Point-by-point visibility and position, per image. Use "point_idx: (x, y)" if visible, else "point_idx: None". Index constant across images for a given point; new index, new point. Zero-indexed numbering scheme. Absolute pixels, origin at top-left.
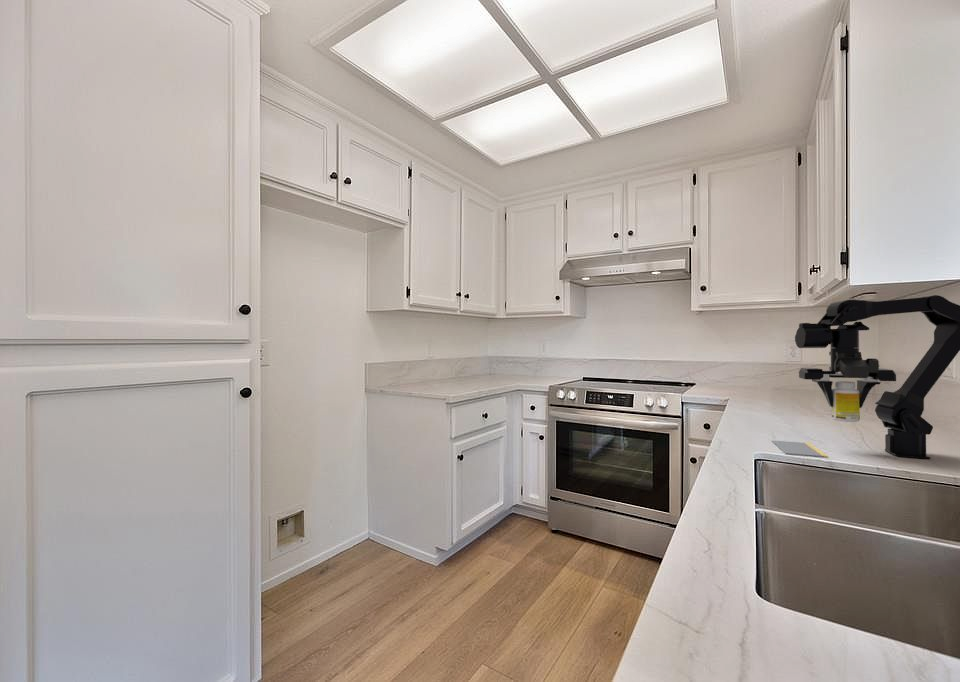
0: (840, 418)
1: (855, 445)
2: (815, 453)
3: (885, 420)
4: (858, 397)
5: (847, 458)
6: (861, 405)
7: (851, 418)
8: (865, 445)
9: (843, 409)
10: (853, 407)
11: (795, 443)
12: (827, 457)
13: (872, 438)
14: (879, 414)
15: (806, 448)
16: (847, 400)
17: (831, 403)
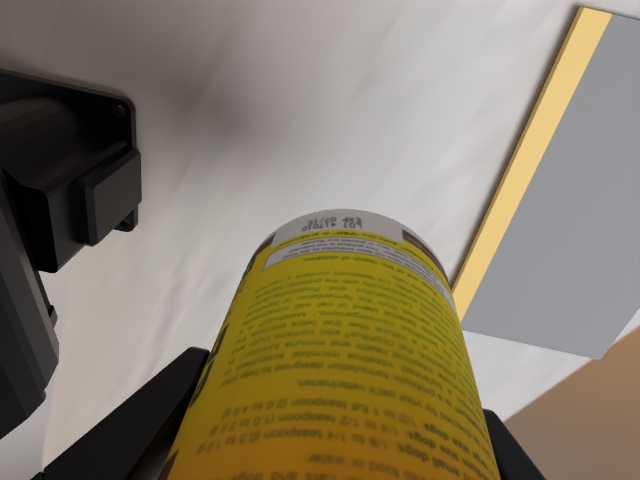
0: (434, 255)
1: (219, 314)
2: (603, 83)
3: (36, 283)
4: (196, 445)
5: (452, 8)
6: (182, 363)
7: (357, 218)
8: (174, 318)
9: (428, 304)
10: (323, 298)
11: (517, 311)
12: (580, 7)
13: (92, 420)
14: (40, 342)
15: (549, 210)
16: (400, 391)
17: (507, 439)
